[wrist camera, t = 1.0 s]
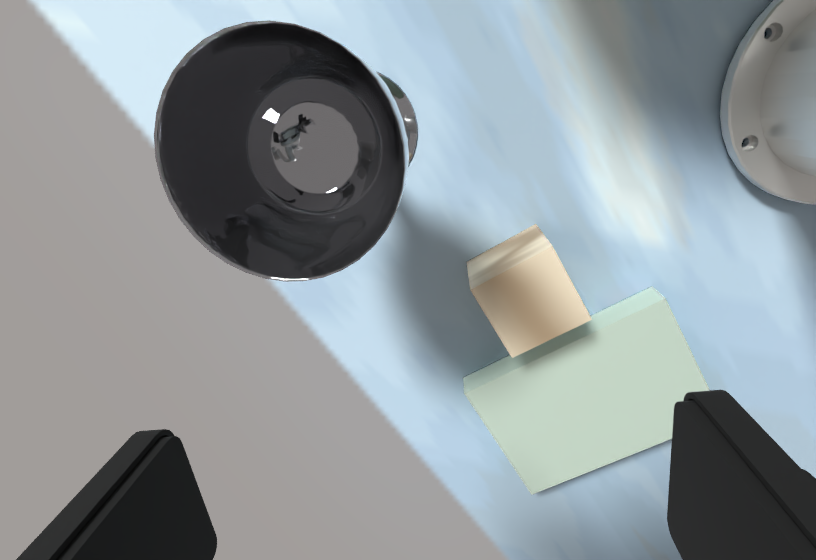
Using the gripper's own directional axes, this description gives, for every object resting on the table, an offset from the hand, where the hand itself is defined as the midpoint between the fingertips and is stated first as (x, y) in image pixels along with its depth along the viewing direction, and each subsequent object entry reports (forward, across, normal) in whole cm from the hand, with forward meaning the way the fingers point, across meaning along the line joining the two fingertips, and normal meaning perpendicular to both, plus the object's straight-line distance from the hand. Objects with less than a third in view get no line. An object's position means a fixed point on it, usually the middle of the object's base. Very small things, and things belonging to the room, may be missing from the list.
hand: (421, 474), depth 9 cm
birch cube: (+23, -5, +5) cm, 24 cm away
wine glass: (+23, +4, -5) cm, 24 cm away
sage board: (+23, -9, +14) cm, 28 cm away
